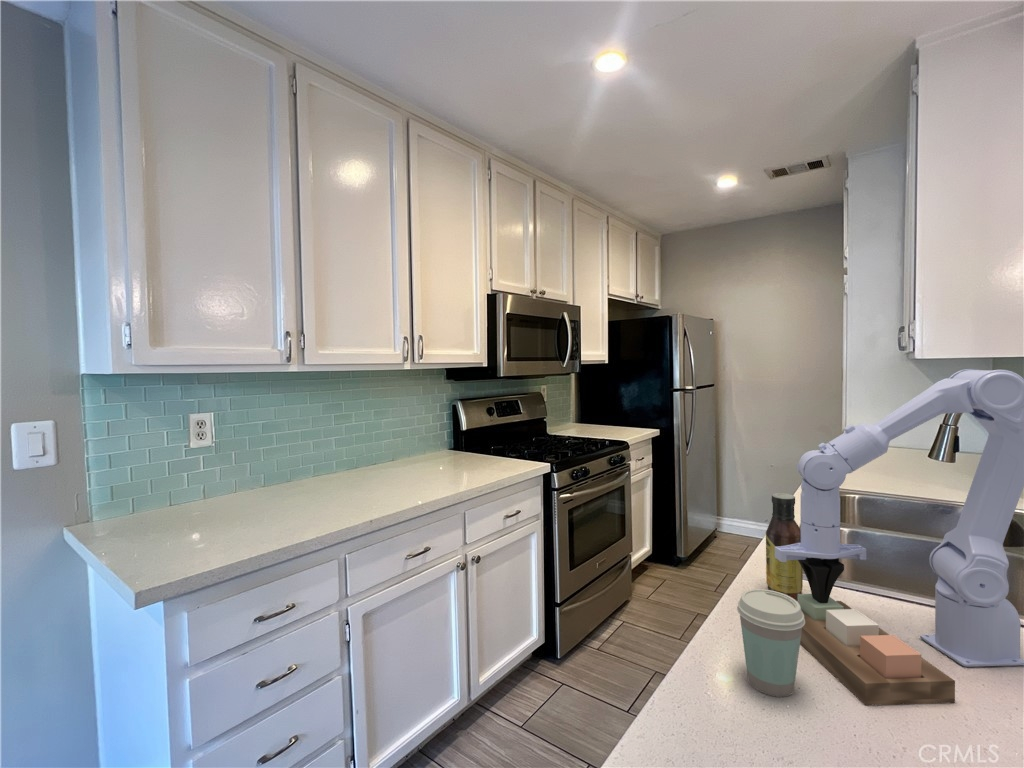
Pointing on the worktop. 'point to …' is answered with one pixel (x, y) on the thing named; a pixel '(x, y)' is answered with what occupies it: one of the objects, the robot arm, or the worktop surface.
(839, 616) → the cream button
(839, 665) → the walnut button board
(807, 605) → the sage green button
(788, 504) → the sauce bottle
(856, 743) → the worktop surface
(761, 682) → the coffee cup
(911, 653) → the terracotta button
